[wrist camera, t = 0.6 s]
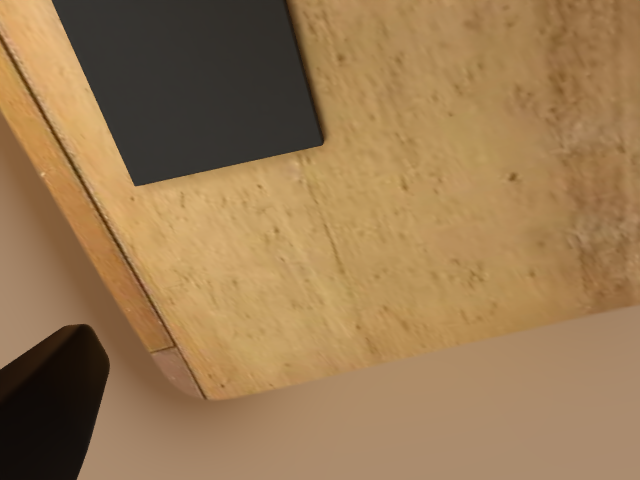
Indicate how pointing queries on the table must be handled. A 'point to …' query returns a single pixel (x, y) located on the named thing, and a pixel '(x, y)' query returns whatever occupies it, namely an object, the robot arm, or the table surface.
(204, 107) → the mat
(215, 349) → the table surface
